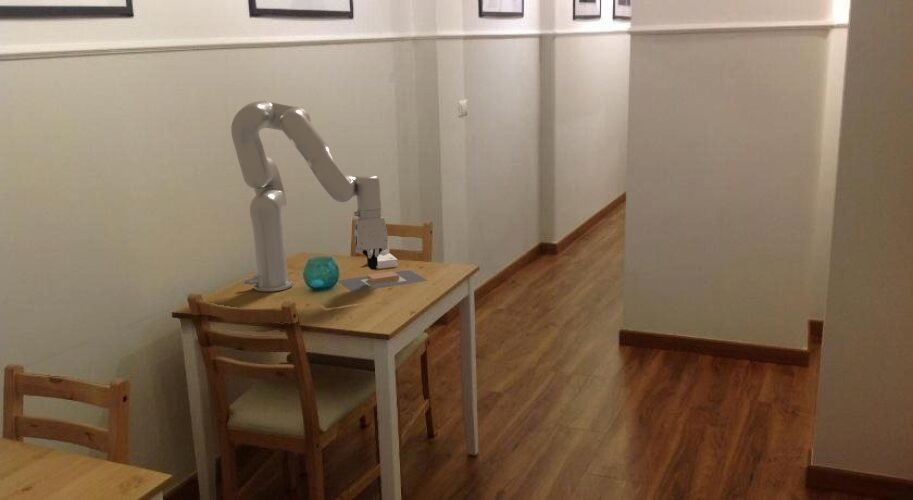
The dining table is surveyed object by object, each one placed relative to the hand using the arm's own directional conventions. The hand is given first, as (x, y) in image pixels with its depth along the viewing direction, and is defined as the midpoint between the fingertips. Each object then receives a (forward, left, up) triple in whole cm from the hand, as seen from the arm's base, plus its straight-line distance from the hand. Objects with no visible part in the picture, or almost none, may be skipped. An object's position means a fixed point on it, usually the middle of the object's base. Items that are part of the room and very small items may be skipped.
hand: (372, 268), depth 272 cm
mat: (+3, 0, -5) cm, 6 cm away
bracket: (+11, +22, -6) cm, 25 cm away
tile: (-1, 0, -4) cm, 4 cm away
